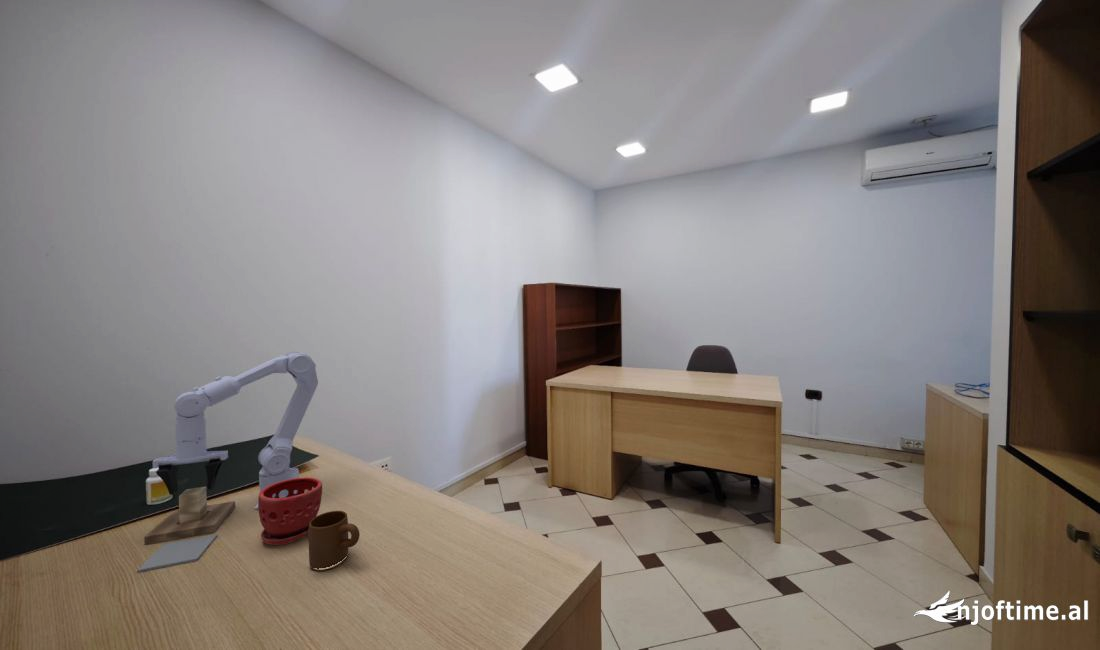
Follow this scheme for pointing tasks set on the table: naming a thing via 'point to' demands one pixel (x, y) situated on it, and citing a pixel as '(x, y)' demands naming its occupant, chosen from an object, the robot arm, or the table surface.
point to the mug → (330, 538)
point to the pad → (178, 553)
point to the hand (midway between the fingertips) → (192, 490)
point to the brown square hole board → (190, 524)
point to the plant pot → (288, 509)
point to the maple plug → (192, 505)
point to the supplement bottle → (156, 489)
